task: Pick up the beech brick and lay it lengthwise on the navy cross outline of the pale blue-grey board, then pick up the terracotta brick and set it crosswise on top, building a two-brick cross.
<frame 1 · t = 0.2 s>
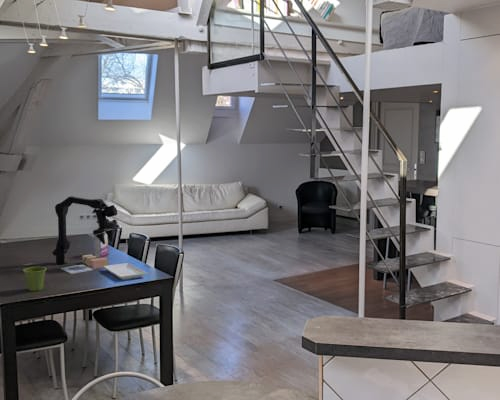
hand: (107, 242, 351), 15 cm above the table, tool pointing down, fingers open, 9 cm apart
tray: (124, 275, 331), on the table
candy bar box: (101, 256, 380), on the table
plant pot: (36, 289, 298), on the table
brick a: (90, 263, 358), on the table
blueprint board: (76, 269, 342), on the table
brick b: (99, 267, 350), on the table
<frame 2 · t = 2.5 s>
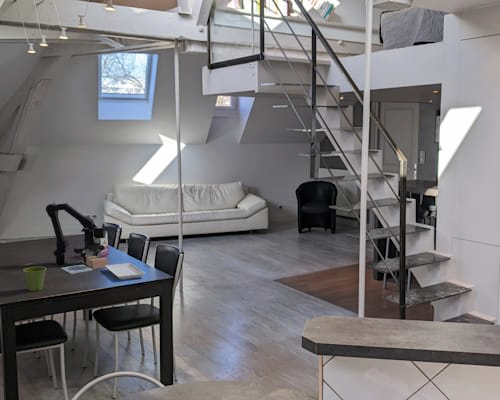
hand: (89, 261, 358), 1 cm above the table, tool pointing down, fingers closed on brick a, 6 cm apart
brick a: (90, 263, 358), on the table, touching gripper
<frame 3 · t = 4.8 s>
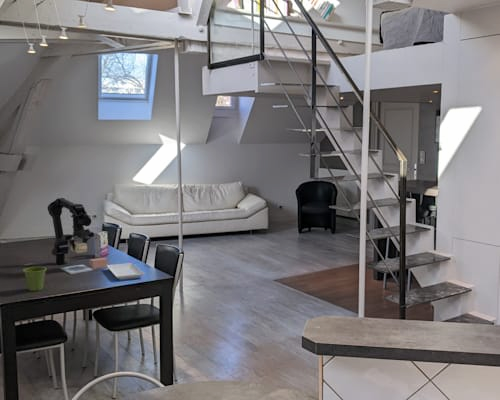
hand: (79, 249, 343), 12 cm above the table, tool pointing down, fingers closed on brick a, 6 cm apart
brick a: (79, 251, 344), point 11 cm above the table, touching gripper
when the fingers open (3 cm above the table, at t = 7.2 s): brick a drops 1 cm, resting on blueprint board.
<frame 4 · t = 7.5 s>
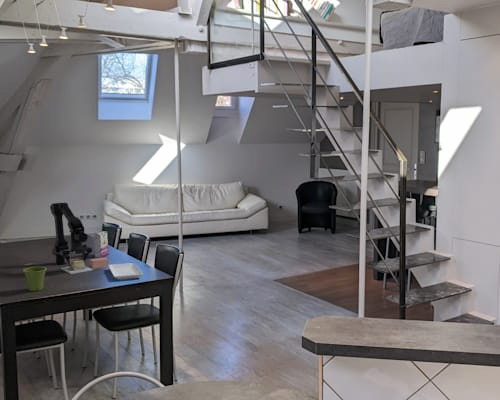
hand: (76, 264, 341), 3 cm above the table, tool pointing down, fingers open, 9 cm apart
brick a: (76, 268, 342), point 1 cm above the table, touching blueprint board
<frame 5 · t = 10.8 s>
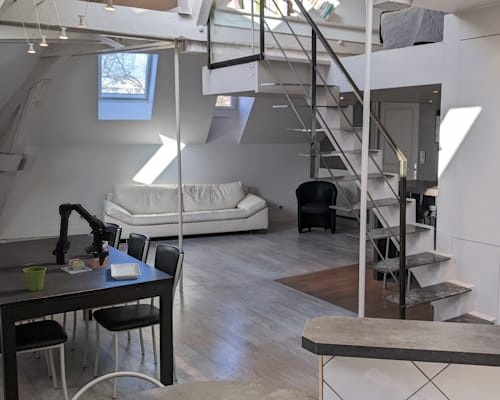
hand: (98, 265, 350), 1 cm above the table, tool pointing down, fingers closed on brick b, 6 cm apart
brick b: (99, 266, 350), on the table, touching gripper
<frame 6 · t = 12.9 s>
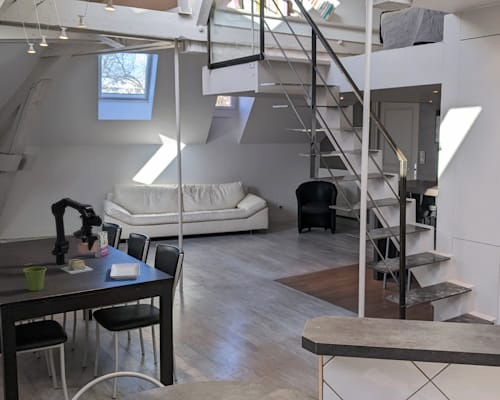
hand: (87, 249, 345), 12 cm above the table, tool pointing down, fingers closed on brick b, 6 cm apart
brick b: (87, 251, 345), point 11 cm above the table, touching gripper
when the fingers open (8 cm above the table, at t = 14.7 s): brick b drops 1 cm, resting on brick a.
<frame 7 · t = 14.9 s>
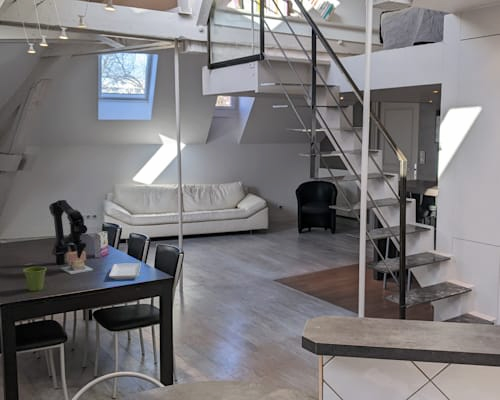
hand: (76, 256, 341), 8 cm above the table, tool pointing down, fingers open, 8 cm apart
brick a: (76, 268, 342), point 1 cm above the table, touching blueprint board, brick b
brick b: (76, 260, 341), point 6 cm above the table, touching brick a
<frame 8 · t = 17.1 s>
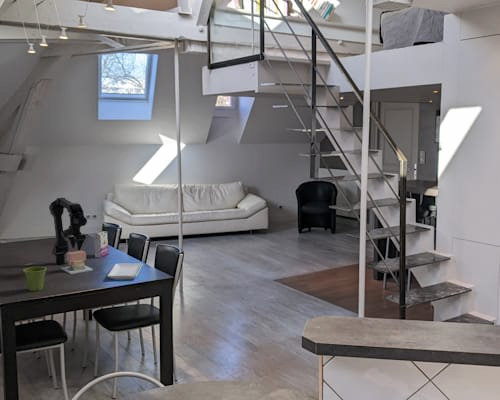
hand: (76, 249, 340), 13 cm above the table, tool pointing down, fingers open, 9 cm apart
at the end: brick a inside the target area (0.0 cm from its centre), point 0.9 cm above the table; brick b 0.1 cm off-centre on the brick a, point 5.0 cm above the brick a's base; brick b tilted 0° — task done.
